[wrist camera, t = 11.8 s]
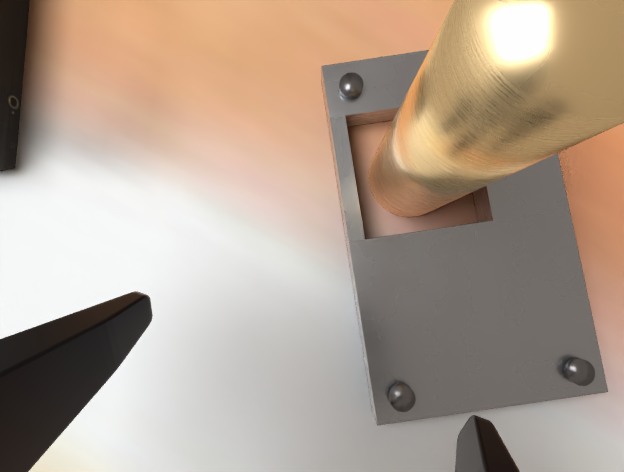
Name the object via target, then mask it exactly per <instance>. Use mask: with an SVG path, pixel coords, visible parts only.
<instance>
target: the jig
mask: <svg viewBox="0 0 624 472" xmlns="http://www.w3.org/2000/svg"><path fill="white" fill-rule="evenodd" d="M428 52H429V50H426V51H419V52H412V53H406V54H399V55H392V56H386V57H379V58H372V59H365V60H359V61H352V62H345V63H339V64H332V65H325V66H322V72H321V83H322V90H323V96H324V102H325V109H326V115H327V122H328V128H329V135H330V141H331V148H332V154H333V161H334V167H335V173H336V180H337V186H338V193H339V199H340V206H341V212H342V219H343V225H344V232H345V238H346V245H347V251H348V257H349V264H350V270H351V277H352V283H353V290H354V296H355V303H356V309H357V316H358V322H359V328H360V335H361V341H362V348H363V354H364V361H365V367H366V374H367V380H368V387H369V393H370V400H371V406H372V412H373V414H374V417H375V420H376V423H377V425H382V424H389V423H396V422H403V421H410V420H417V419H424V418H431V417H438V416H445V415H452V414H458V413H465V412H472V411H479V410H486V409H493V408H500V407H507V406H514V405H521V404H528V403H535V402H541V401H548V400H555V399H562V398H569V397H576V396H583V395H590V394H597V393H604V392H608V389H607V384H606V380H605V375H604V370H603V365H602V361H601V356H600V351H599V347H598V342H597V337H596V332H595V328H594V323H593V318H592V313H591V309H590V304H589V299H588V294H587V290H586V285H585V280H584V275H583V271H582V266H581V261H580V257H579V252H578V247H577V242H576V238H575V233H574V228H573V223H572V219H571V214H570V209H569V204H568V200H567V195H566V190H565V185H564V181H563V176H562V171H561V167H560V162H559V157H558V153H556V154H554V155H552V156H550V157H548V158H546V159H543V160H541V161H539V162H537V163H535V164H533V165H530V166H528V167H526V168H524V169H522V170H519V171H517V172H515V173H513V174H511V175H509V176H506V177H504V178H502V179H500V180H498V181H496V182H493V183H491V184H489V185H487V186H485V187H483V188H480V189H478V190H476V191H474V192H473V197H474V202H475V207H476V213H477V218H478V223H473V224H466V225H459V226H453V227H446V228H439V229H432V230H425V231H419V232H412V233H405V234H398V235H391V236H385V237H378V238H371V239H365V237H364V230H363V224H362V218H361V211H360V205H359V199H358V193H357V186H356V180H355V174H354V168H353V161H352V155H351V149H350V142H349V136H348V130H347V127H349V126H356V125H363V124H369V123H376V122H383V121H390V120H393V119H394V117H395V115H396V113H397V112H398V110H399V108H400V106H401V104H402V102H403V100H404V98H405V96H406V94H407V92H408V90H409V88H410V86H411V84H412V83H413V81H414V79H415V77H416V75H417V73H418V71H419V69H420V67H421V65H422V63H423V61H424V59H425V57H426V55H427V54H428Z"/></svg>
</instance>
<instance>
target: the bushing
mask: <svg viewBox="0 0 624 472" xmlns="http://www.w3.org/2000/svg"><path fill="white" fill-rule="evenodd" d="M622 123H624V0H455V1H454V3H453V5H452V7H451V9H450V11H449V13H448V15H447V17H446V19H445V21H444V23H443V25H442V26H441V28H440V30H439V32H438V34H437V36H436V38H435V40H434V42H433V44H432V46H431V48H430V50H429V52H428V54H427V55H426V57H425V59H424V61H423V63H422V65H421V67H420V69H419V71H418V73H417V75H416V77H415V79H414V81H413V83H412V84H411V86H410V88H409V90H408V92H407V94H406V96H405V98H404V100H403V102H402V104H401V106H400V108H399V110H398V112H397V113H396V115H395V117H394V119H393V121H392V123H391V125H390V127H389V129H388V131H387V133H386V135H385V137H384V139H383V141H382V143H381V144H380V146H379V148H378V150H377V152H376V154H375V156H374V158H373V160H372V162H371V165H370V169H369V184H370V188H371V191H372V193H373V195H374V197H375V199H376V200H377V201H378V203H379V204H380V205H381V206H382V207H384V208H385V209H386V210H388V211H390V212H391V213H394V214H396V215H400V216H405V217H415V216H420V215H424V214H426V213H428V212H430V211H433V210H435V209H437V208H439V207H441V206H443V205H446V204H448V203H450V202H452V201H454V200H456V199H459V198H461V197H463V196H465V195H467V194H469V193H472V192H474V191H476V190H478V189H480V188H483V187H485V186H487V185H489V184H491V183H493V182H496V181H498V180H500V179H502V178H504V177H506V176H509V175H511V174H513V173H515V172H517V171H519V170H522V169H524V168H526V167H528V166H530V165H533V164H535V163H537V162H539V161H541V160H543V159H546V158H548V157H550V156H552V155H554V154H556V153H559V152H561V151H563V150H565V149H567V148H569V147H572V146H574V145H576V144H578V143H580V142H582V141H585V140H587V139H589V138H591V137H593V136H596V135H598V134H600V133H602V132H604V131H606V130H609V129H611V128H613V127H615V126H617V125H619V124H622Z"/></svg>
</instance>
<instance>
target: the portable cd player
mask: <svg viewBox="0 0 624 472" xmlns="http://www.w3.org/2000/svg"><path fill="white" fill-rule="evenodd" d="M28 12H29V0H0V171H3V170H7V169H12V168H15V164H16V152H17V141H18V129H19V117H20V106H21V94H22V82H23V71H24V59H25V47H26V36H27V24H28Z"/></svg>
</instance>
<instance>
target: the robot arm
mask: <svg viewBox="0 0 624 472" xmlns="http://www.w3.org/2000/svg"><path fill="white" fill-rule="evenodd" d="M151 320H152V309H151V302H150V298H149V296H148V295H146V294H143V293H140V292H131V293H128V294H126V295H123V296H120V297H117V298H114V299H112V300H109V301H106V302H103V303H101V304H98V305H95V306H92V307H89V308H87V309H84V310H81V311H78V312H75V313H73V314H70V315H67V316H64V317H61V318H59V319H56V320H53V321H50V322H47V323H45V324H42V325H39V326H36V327H33V328H31V329H28V330H25V331H22V332H19V333H17V334H14V335H11V336H8V337H5V338H3V339H0V472H28V471H29V470H30V469H31V468H32V467H33V466H34V464H35V463H36V462H37V461H38V460H39V459H40V457H41V456H42V455H43V454H44V453H45V452H46V451H47V449H48V448H49V447H50V446H51V445H52V444H53V443H54V441H55V440H56V439H57V438H58V437H59V436H60V434H61V433H62V432H63V431H64V430H65V429H66V428H67V426H68V425H69V424H70V423H71V422H72V421H73V419H74V418H75V417H76V416H77V415H78V414H79V413H80V411H81V410H82V409H83V408H84V407H85V406H86V405H87V403H88V402H89V401H90V400H91V399H92V398H93V396H94V395H95V394H96V393H97V392H98V391H99V390H100V388H101V387H102V386H103V385H104V384H105V383H106V381H107V380H108V379H109V378H110V377H111V376H112V374H113V373H114V372H115V371H116V370H117V368H118V367H119V366H120V364H121V363H122V362H123V361H124V359H125V358H126V356H127V355H128V354H129V352H130V351H131V349H132V348H133V347H134V345H135V344H136V342H137V341H138V340H139V338H140V337H141V335H142V334H143V333H144V331H145V330H146V328H147V327H148V326H149V324H150V322H151ZM455 472H520V471H519V469H518V468H517V466H516V464H515V462H514V460H513V459H512V457H511V455H510V453H509V452H508V450H507V448H506V446H505V445H504V443H503V441H502V439H501V437H500V436H499V434H498V432H497V430H496V429H495V427H494V425H493V424H492V423H491V422H490V421H489V420H486V419H484V418H481V417H478V416H475V415H473V416H471V417H470V418H469V420H468V421H467V423H466V424H465V425H464V427H463V428H462V430H461V431H460V433H459V436H458V440H457V450H456V465H455Z"/></svg>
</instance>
